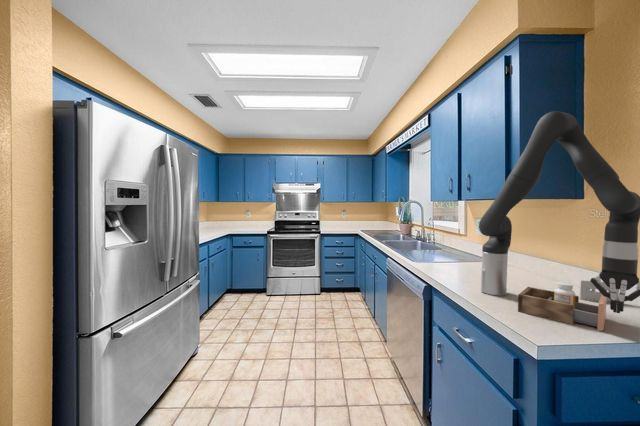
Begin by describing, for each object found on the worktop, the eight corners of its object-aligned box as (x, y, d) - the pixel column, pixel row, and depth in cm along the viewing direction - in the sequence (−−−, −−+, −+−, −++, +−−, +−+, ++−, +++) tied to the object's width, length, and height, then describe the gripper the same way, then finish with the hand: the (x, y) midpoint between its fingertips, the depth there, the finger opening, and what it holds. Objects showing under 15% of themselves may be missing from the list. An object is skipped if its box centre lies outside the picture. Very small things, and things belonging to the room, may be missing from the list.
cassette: (580, 300, 114) (581, 280, 114) (578, 298, 116) (579, 279, 116) (619, 303, 110) (620, 283, 110) (616, 302, 112) (617, 282, 112)
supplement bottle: (564, 308, 101) (565, 281, 100) (578, 314, 95) (580, 285, 95) (549, 309, 100) (550, 281, 100) (563, 315, 95) (564, 286, 95)
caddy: (578, 313, 100) (578, 296, 100) (572, 324, 91) (573, 305, 91) (527, 302, 111) (527, 286, 111) (517, 311, 102) (518, 294, 101)
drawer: (605, 318, 95) (606, 294, 95) (602, 331, 86) (604, 304, 85) (550, 306, 106) (551, 284, 106) (542, 316, 96) (543, 292, 96)
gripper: (588, 254, 90) (586, 309, 91) (653, 261, 80) (649, 322, 81) (590, 251, 95) (588, 303, 96) (651, 257, 86) (648, 315, 86)
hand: (616, 312), depth 89 cm, fingers closed
